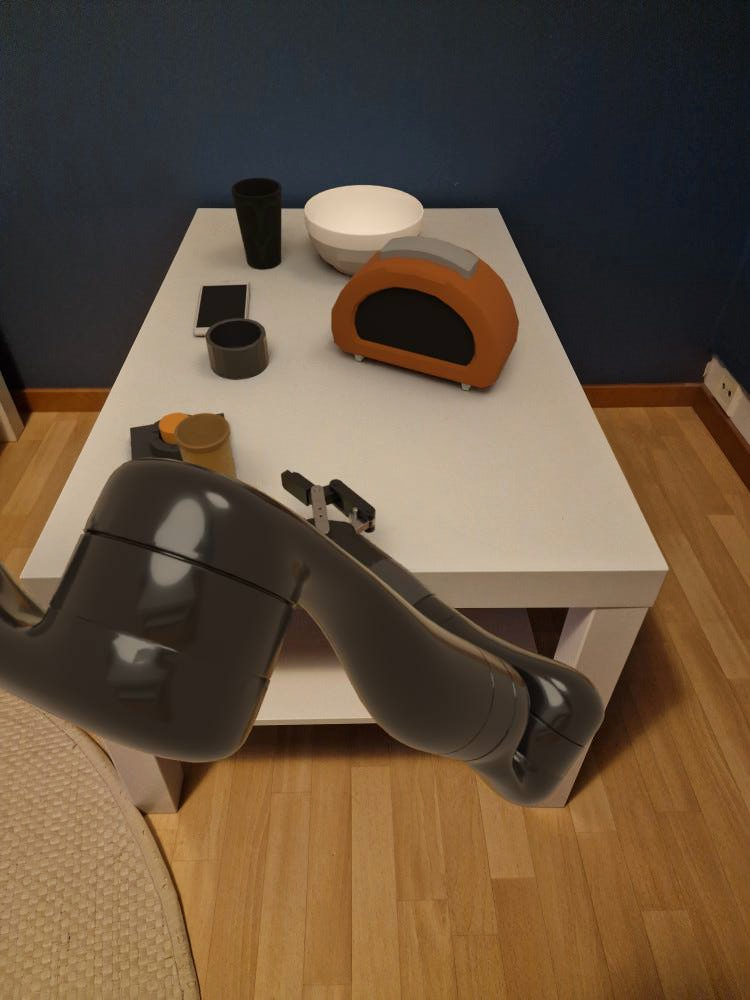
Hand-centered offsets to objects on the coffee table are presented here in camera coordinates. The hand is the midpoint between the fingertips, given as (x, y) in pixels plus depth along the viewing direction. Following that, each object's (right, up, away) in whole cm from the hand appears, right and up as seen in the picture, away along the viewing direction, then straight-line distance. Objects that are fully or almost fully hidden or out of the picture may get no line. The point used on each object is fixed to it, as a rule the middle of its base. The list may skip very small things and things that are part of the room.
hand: (249, 499), depth 65 cm
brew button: (-10, +7, +13) cm, 18 cm away
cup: (-6, +39, +49) cm, 63 cm away
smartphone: (-11, +28, +38) cm, 48 cm away
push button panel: (-10, +5, +15) cm, 19 cm away
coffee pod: (-5, -2, +8) cm, 10 cm away
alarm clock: (+18, +19, +29) cm, 39 cm away
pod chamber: (-6, +19, +28) cm, 34 cm away
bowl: (+10, +40, +49) cm, 64 cm away
